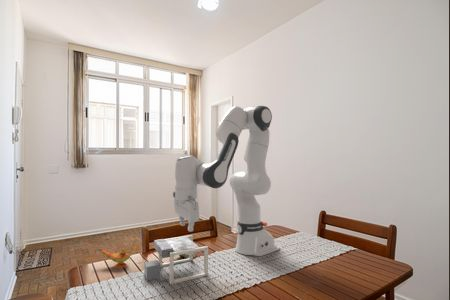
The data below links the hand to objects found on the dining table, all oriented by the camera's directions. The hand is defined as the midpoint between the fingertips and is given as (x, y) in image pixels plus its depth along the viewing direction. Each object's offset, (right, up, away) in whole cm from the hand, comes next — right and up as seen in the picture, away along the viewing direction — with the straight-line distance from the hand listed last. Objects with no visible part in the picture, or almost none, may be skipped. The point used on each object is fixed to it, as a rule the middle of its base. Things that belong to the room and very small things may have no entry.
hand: (186, 228), depth 105 cm
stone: (-13, -17, -6) cm, 22 cm away
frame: (-2, -17, -1) cm, 17 cm away
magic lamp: (-30, -17, +3) cm, 35 cm away
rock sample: (-2, -18, +14) cm, 22 cm away
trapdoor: (-4, -8, -2) cm, 9 cm away
